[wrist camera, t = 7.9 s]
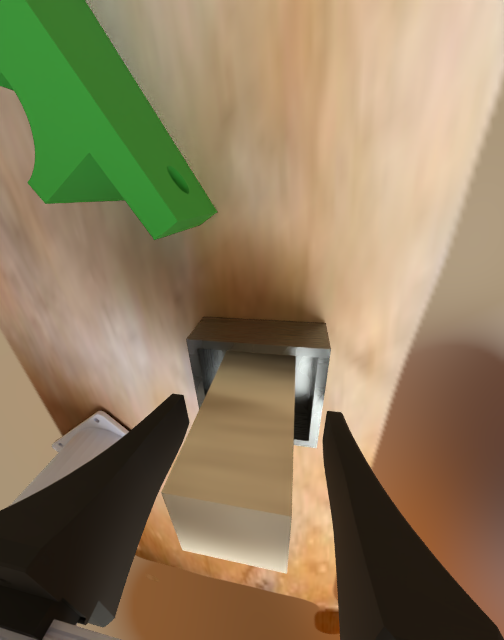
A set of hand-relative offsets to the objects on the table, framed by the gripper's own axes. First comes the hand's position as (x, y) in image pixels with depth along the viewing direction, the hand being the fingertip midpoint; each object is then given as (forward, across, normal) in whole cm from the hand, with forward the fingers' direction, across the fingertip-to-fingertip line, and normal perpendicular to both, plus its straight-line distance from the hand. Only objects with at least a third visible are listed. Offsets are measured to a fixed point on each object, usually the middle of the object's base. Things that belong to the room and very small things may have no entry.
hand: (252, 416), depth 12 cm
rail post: (+3, 0, 0) cm, 3 cm away
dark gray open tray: (+4, 0, 0) cm, 4 cm away
